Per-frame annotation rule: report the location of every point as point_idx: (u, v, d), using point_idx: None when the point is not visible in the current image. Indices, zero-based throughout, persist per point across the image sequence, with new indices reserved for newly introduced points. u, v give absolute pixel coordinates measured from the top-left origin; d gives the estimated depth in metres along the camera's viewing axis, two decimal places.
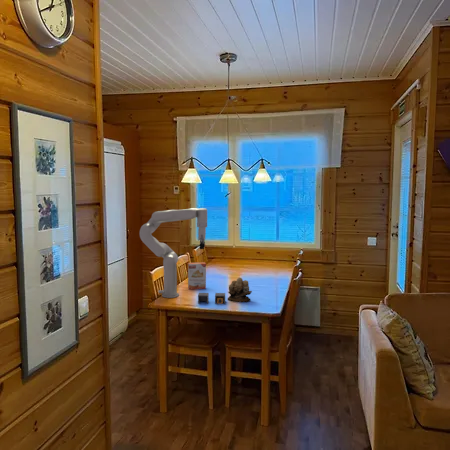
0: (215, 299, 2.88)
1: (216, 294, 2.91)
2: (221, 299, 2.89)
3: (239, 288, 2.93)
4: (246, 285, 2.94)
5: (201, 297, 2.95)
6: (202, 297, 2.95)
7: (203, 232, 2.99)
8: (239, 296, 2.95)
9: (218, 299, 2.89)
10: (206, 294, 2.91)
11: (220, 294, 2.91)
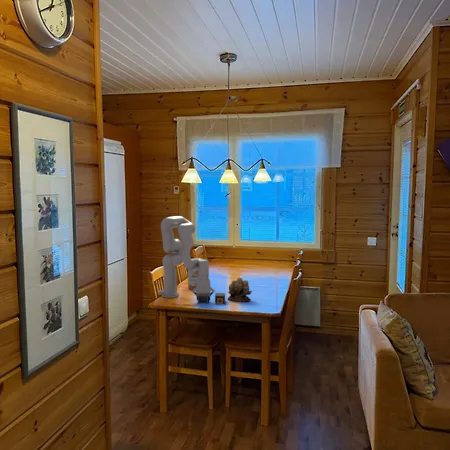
0: (215, 299, 2.88)
1: (216, 294, 2.91)
2: (221, 299, 2.89)
3: (239, 288, 2.93)
4: (246, 285, 2.94)
5: (201, 297, 2.95)
6: (202, 297, 2.95)
7: None
8: (239, 296, 2.95)
9: (218, 299, 2.89)
10: (206, 294, 2.91)
11: (220, 294, 2.91)
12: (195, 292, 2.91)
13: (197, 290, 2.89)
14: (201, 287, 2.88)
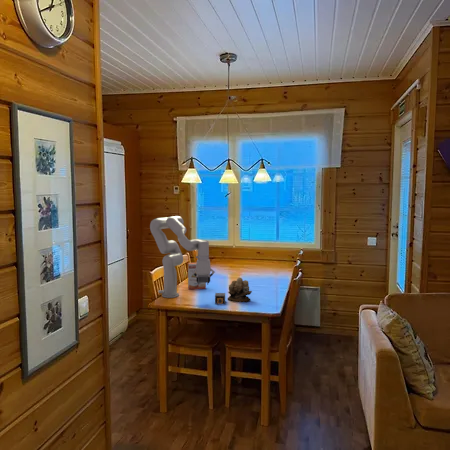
0: (215, 299, 2.88)
1: (216, 294, 2.91)
2: (221, 299, 2.89)
3: (239, 288, 2.93)
4: (246, 285, 2.94)
5: (201, 278, 2.94)
6: (202, 278, 2.94)
7: None
8: (239, 296, 2.95)
9: (218, 299, 2.89)
10: (206, 275, 2.89)
11: (220, 294, 2.91)
12: (195, 273, 2.90)
13: (197, 271, 2.88)
14: (201, 268, 2.87)
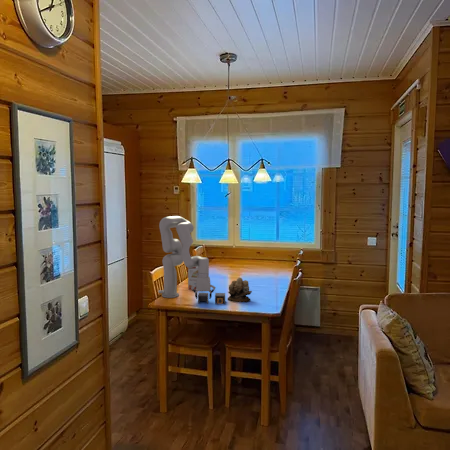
0: (215, 299, 2.88)
1: (216, 294, 2.91)
2: (221, 299, 2.89)
3: (239, 288, 2.93)
4: (246, 285, 2.94)
5: (201, 297, 2.95)
6: (202, 297, 2.95)
7: None
8: (239, 296, 2.95)
9: (218, 299, 2.89)
10: (206, 294, 2.91)
11: (220, 294, 2.91)
12: (194, 289, 2.91)
13: (197, 288, 2.89)
14: (201, 285, 2.88)
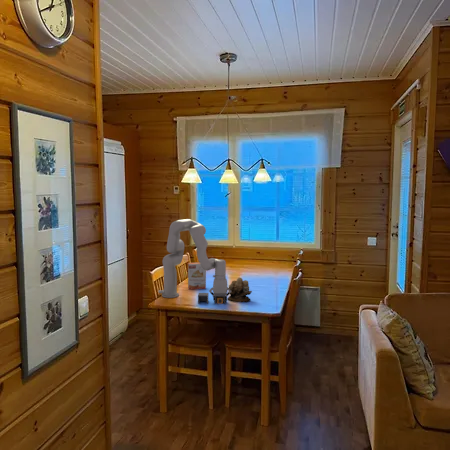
0: (215, 299, 2.88)
1: (216, 294, 2.91)
2: (221, 299, 2.89)
3: (239, 288, 2.93)
4: (246, 285, 2.94)
5: (201, 297, 2.95)
6: (202, 297, 2.95)
7: None
8: (239, 296, 2.95)
9: (218, 299, 2.89)
10: (206, 294, 2.91)
11: (220, 294, 2.91)
12: (212, 292, 2.91)
13: (214, 290, 2.89)
14: (218, 287, 2.88)
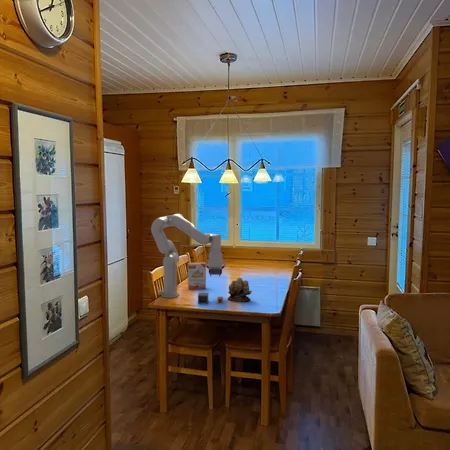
0: (210, 272, 2.99)
1: (211, 267, 3.02)
2: (221, 299, 2.89)
3: (239, 288, 2.93)
4: (246, 285, 2.94)
5: (201, 297, 2.95)
6: (202, 297, 2.95)
7: None
8: (239, 296, 2.95)
9: (218, 299, 2.89)
10: (206, 294, 2.91)
11: (215, 267, 3.02)
12: (207, 265, 3.02)
13: (209, 263, 3.00)
14: (213, 260, 2.99)
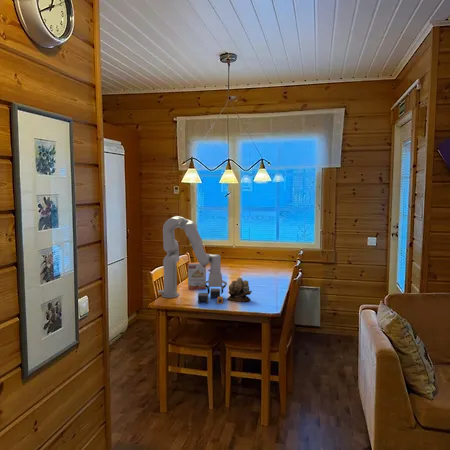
0: (210, 294, 3.01)
1: (211, 289, 3.04)
2: (221, 299, 2.89)
3: (239, 288, 2.93)
4: (246, 285, 2.94)
5: (201, 297, 2.95)
6: (202, 297, 2.95)
7: None
8: (239, 296, 2.95)
9: (218, 299, 2.89)
10: (206, 294, 2.91)
11: (215, 289, 3.04)
12: (206, 285, 3.04)
13: (209, 284, 3.01)
14: (213, 281, 3.01)
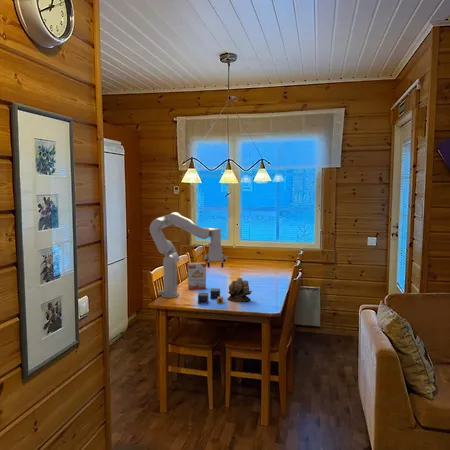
0: (210, 294, 3.01)
1: (211, 289, 3.04)
2: (221, 299, 2.89)
3: (239, 288, 2.93)
4: (246, 285, 2.94)
5: (201, 297, 2.95)
6: (202, 297, 2.95)
7: None
8: (239, 296, 2.95)
9: (218, 299, 2.89)
10: (206, 294, 2.91)
11: (215, 289, 3.04)
12: (206, 259, 3.02)
13: (209, 258, 3.00)
14: (213, 255, 2.99)
